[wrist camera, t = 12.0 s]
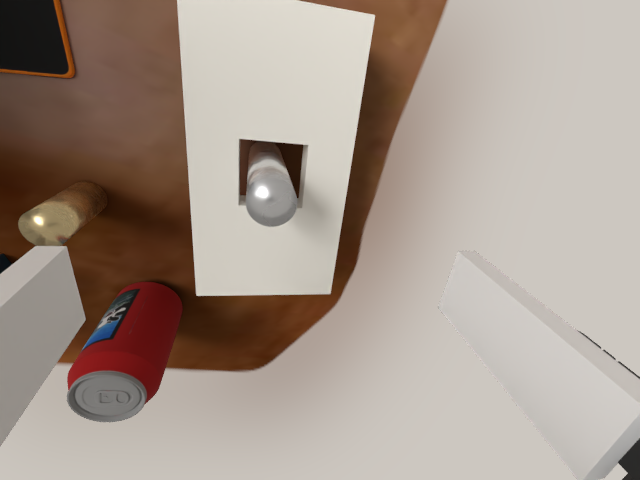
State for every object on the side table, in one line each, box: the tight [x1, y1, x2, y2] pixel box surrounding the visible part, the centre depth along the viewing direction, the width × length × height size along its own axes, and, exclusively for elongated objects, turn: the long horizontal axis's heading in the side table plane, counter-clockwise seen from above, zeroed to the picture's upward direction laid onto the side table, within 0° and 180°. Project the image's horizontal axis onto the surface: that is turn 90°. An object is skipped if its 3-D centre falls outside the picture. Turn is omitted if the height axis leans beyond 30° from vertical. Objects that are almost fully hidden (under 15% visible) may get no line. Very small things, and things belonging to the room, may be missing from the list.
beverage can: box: [67, 282, 183, 422], centre depth 30 cm, size 7×7×12 cm
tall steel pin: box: [246, 141, 297, 227], centre depth 24 cm, size 3×3×13 cm
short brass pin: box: [18, 181, 108, 246], centre depth 26 cm, size 3×3×7 cm
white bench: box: [177, 0, 375, 296], centre depth 27 cm, size 12×22×7 cm, turn 173°
